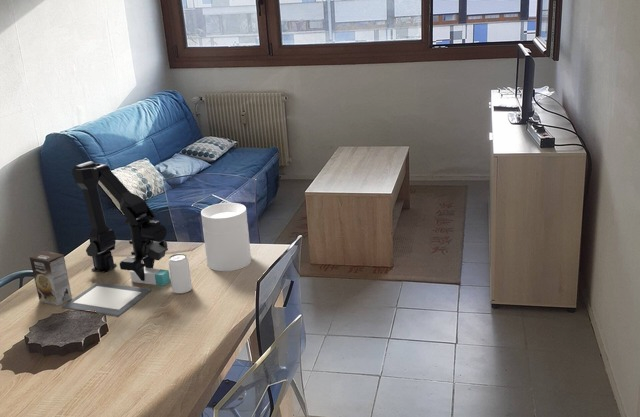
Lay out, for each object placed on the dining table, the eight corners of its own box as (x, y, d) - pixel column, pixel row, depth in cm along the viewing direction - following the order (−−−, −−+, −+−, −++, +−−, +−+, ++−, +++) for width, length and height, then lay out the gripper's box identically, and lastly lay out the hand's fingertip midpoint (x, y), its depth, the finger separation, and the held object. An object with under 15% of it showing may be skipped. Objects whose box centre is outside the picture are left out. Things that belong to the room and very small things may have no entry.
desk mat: (62, 307, 205) (61, 306, 205) (98, 283, 221) (97, 281, 221) (118, 316, 198) (118, 314, 198) (151, 290, 214) (151, 288, 213)
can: (190, 293, 210) (185, 260, 206) (170, 294, 210) (165, 261, 206) (194, 285, 216) (189, 252, 212) (175, 285, 216) (170, 253, 212)
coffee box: (38, 301, 210) (28, 257, 205) (54, 293, 216) (44, 249, 210) (57, 306, 206) (47, 261, 201) (73, 298, 212) (64, 253, 206)
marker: (131, 281, 221) (129, 271, 220) (138, 276, 224) (136, 266, 223) (163, 285, 217) (162, 275, 215) (170, 280, 220) (168, 270, 219)
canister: (199, 269, 227) (192, 217, 221) (218, 251, 242) (213, 201, 235) (240, 273, 223) (235, 219, 216) (257, 254, 237) (253, 203, 230)
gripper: (143, 249, 204) (150, 292, 210) (175, 228, 221) (181, 269, 226) (115, 246, 208) (122, 289, 214) (148, 225, 225) (154, 265, 230)
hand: (146, 277), depth 221 cm, fingers closed on marker, 4 cm apart
